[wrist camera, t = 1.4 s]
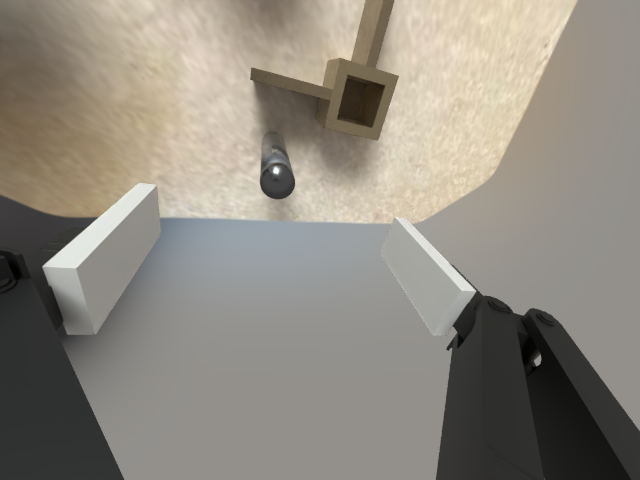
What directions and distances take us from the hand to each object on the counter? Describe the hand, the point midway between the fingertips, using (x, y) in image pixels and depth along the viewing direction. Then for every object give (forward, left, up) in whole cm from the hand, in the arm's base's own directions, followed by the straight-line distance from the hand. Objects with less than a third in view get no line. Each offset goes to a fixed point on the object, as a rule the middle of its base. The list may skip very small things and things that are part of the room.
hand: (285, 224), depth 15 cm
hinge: (+4, +12, -23) cm, 26 cm away
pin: (0, 0, -23) cm, 23 cm away
